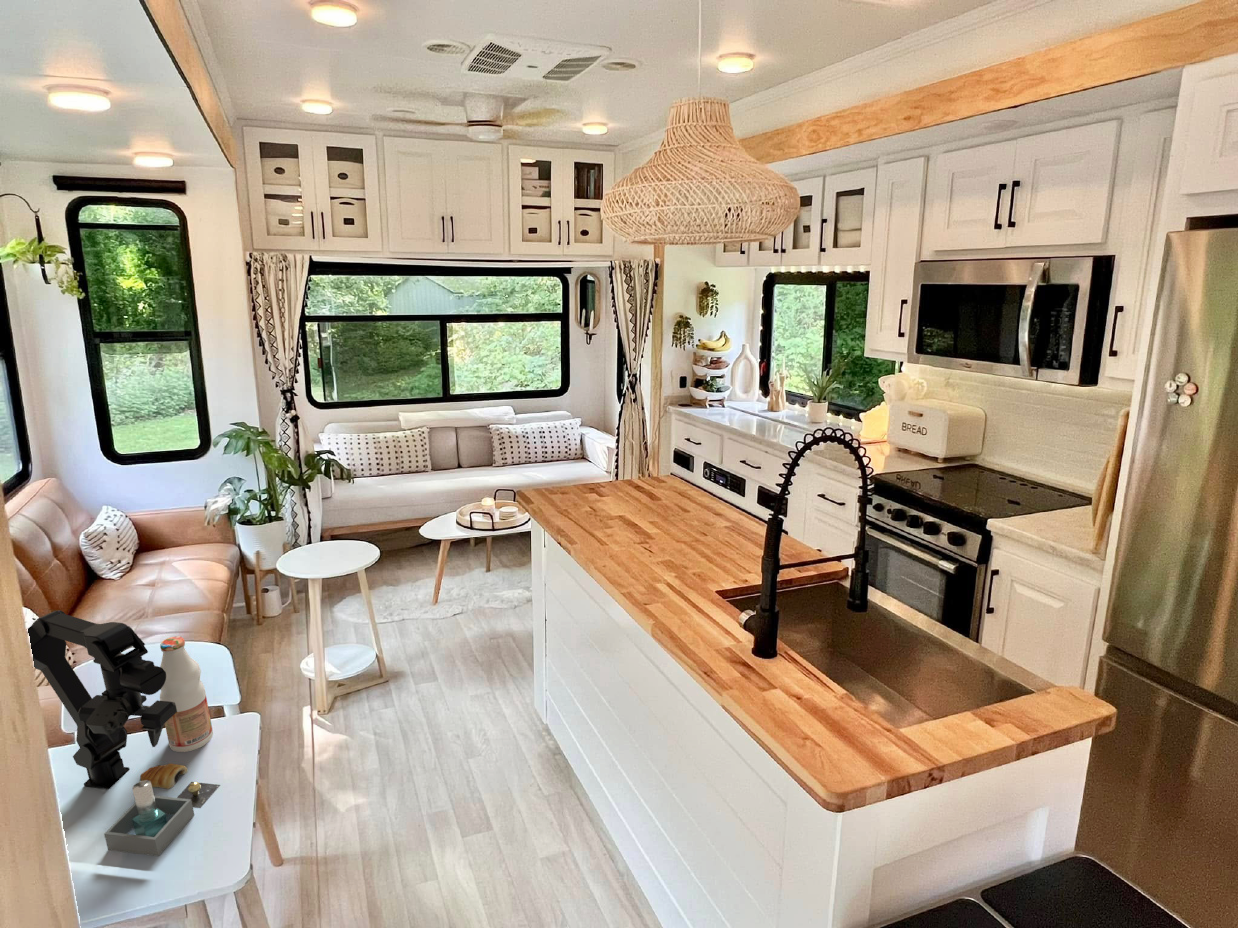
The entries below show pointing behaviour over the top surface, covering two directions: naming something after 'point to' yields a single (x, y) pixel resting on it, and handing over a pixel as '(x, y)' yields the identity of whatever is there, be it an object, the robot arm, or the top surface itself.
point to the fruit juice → (184, 698)
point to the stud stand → (198, 793)
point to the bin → (145, 844)
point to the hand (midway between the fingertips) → (135, 743)
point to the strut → (147, 811)
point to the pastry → (164, 775)
